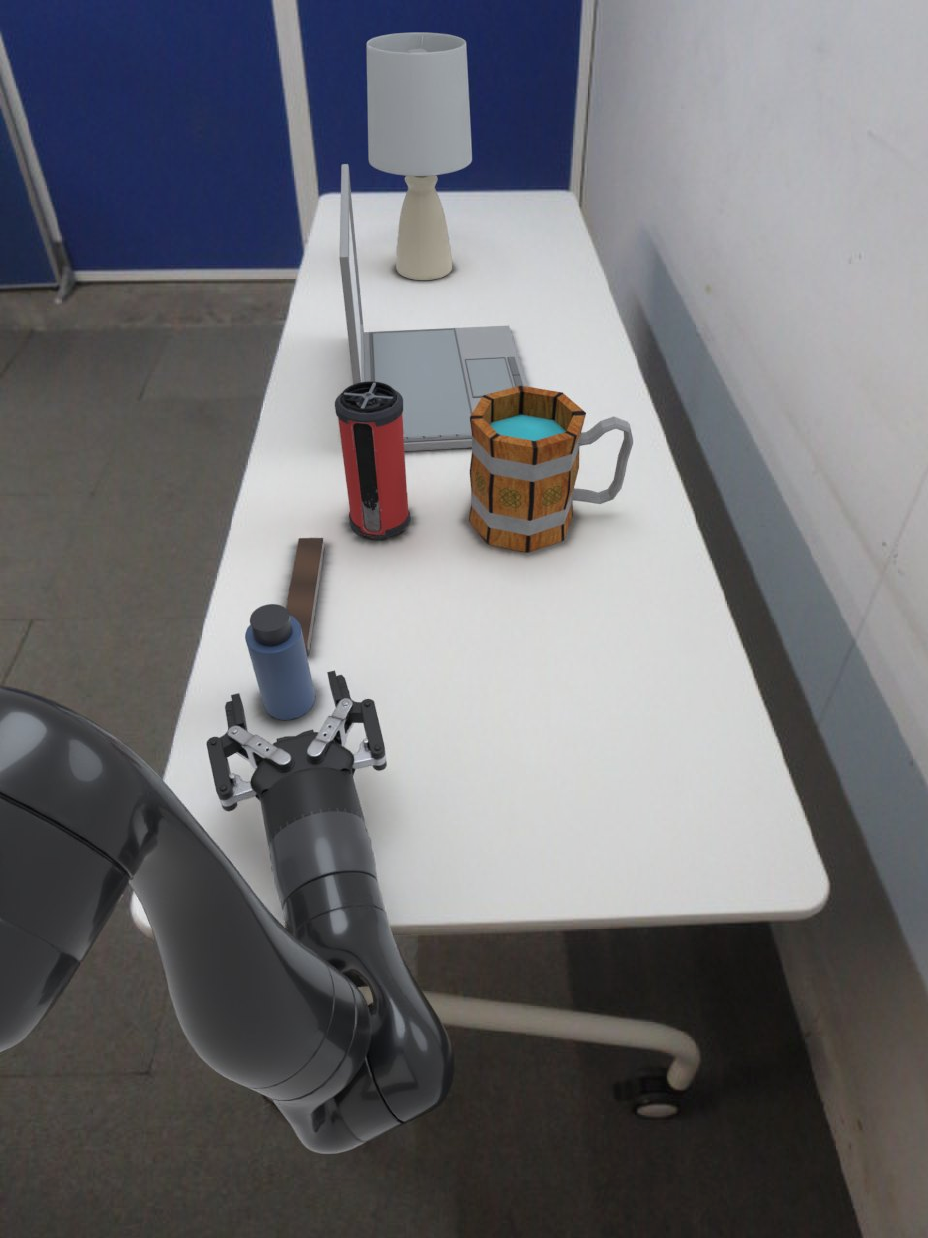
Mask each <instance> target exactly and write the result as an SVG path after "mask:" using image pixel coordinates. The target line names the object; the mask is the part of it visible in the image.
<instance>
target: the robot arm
mask: <svg viewBox="0 0 928 1238" xmlns="http://www.w3.org/2000/svg"><path fill="white" fill-rule="evenodd" d="M327 680H328V685H329V689H330V692H331V695H332V699H333V703H334V705H335V709H334V710H333V712H332V714H331V715H328V716H327V717H326V719H325V720H324V723H323V724H322V726H321V728H320V729H319V731H314V729H309V730H305V731H303V732H300V733H298V734H297V735H288V736H287V735H286V736H281V737H278V738H276V741H275V742H273V743H271V742H270V741H268V740H267V739H265V738H263V737H261V736H260V735H259V734H257V733H256V734H253V733H251V732H249V731H248V730H249V729H248V725H247V719H246V714H245V708H244V704H243V701H242V698H241V694H240V692H238V693H234V694H231V695H230V698H231V700H229V701H226V702H225V705H224V710H225V717H226V724H227V731H226V732H225V733H224V734H223V735H221V736H220V737H219V736H212V737H210V738H208V739H207V741H206V743H205V744H206V749H207V753H208V759H209V764H210V769H211V772H212V779H213V782H214V788H215V792H216V794H217V797H218V799H219V802H220V805H221V807H222V809H223V810H224V811H225V812H232V811H234V810H236V809H237V807H238V804H239V802H242V801H245V800H248V799H251V798H254V797H255V798H256V799H257V800H258V801H259V802H260V808H261V814H262V820H263V826H264V832H265V837H266V843H267V848H268V853H269V860H270V869H271V872H272V879H273V882H274V886H275V889H276V893H277V896H278V898H279V901H280V904H281V905H280V906H281V909H282V913H283V920H284V925H285V926H284V925H283V924H282V923H281V922H280V920H278V918H276V917H275V915H273V913H271V911H270V910H269V909H268V907H266V905H265V904H264V903H263V901H262V900H261V898H259V896H258V895H257V894H256V893H255V890H253V888H252V887H251V886H250V884H249V883H248V882H247V880H246V879H245V878H244V876H243V875H242V874H241V872H240V871H239V870H238V869H237V867H236V866H235V865H234V864H233V863H232V861H231V860H230V858H229V857H228V856H227V854H226V853H225V852H224V851H223V850H222V848H221V847H220V846H219V845H218V843H216V842H215V840H214V839H213V838H212V836H211V835H210V834H209V833H208V832H207V830H206V829H205V828H204V826H202V825H201V823H200V822H199V821H198V819H197V818H196V817H195V816H194V815H193V814H192V812H191V811H190V810H189V808H187V807H186V806H185V804H184V803H183V802H182V800H181V799H180V798H179V797H178V796H177V794H175V792H174V791H173V790H172V789H171V787H170V786H169V785H168V784H167V783H166V782H165V781H164V779H162V778H161V777H160V775H159V774H158V773H157V772H156V771H155V770H154V769H153V768H152V767H151V766H150V765H149V764H148V763H147V762H146V761H145V760H143V758H141V756H140V755H138V754H137V753H135V751H133V750H132V749H131V748H130V747H129V746H128V745H126V744H125V742H123V741H121V740H120V739H119V738H117V737H116V736H115V734H112V732H110V731H109V730H107V729H105V727H102V726H101V725H99V724H98V723H96V722H95V721H93V720H92V719H90V718H88V717H86V716H85V715H82V714H81V713H79V712H77V711H76V710H74V709H72V708H70V707H68V706H66V705H64V704H62V703H60V702H58V701H56V700H53V699H51V698H49V697H46V696H42V695H39V694H37V693H34V692H31V691H28V690H25V689H20V688H17V687H12V686H8V685H1V684H0V1053H2V1052H4V1051H6V1050H8V1049H11V1048H13V1047H15V1046H17V1045H19V1044H21V1043H23V1041H25V1040H26V1039H27V1038H28V1037H29V1036H31V1034H32V1033H33V1032H34V1031H35V1030H36V1029H37V1028H38V1026H40V1024H41V1023H42V1022H43V1020H45V1018H46V1017H47V1016H48V1015H49V1013H50V1012H51V1010H52V1009H53V1008H54V1007H55V1006H56V1004H57V1003H58V1001H59V999H60V998H61V997H62V995H63V994H64V992H65V990H66V989H67V987H68V986H69V984H70V982H71V981H72V979H73V978H74V976H75V975H76V973H77V971H78V969H79V967H80V966H81V963H83V962H84V960H85V959H86V958H87V956H88V954H89V953H90V951H91V949H92V947H93V946H94V944H95V943H96V941H97V939H98V938H99V936H100V934H101V932H102V931H103V929H104V928H105V926H106V924H107V923H108V921H109V920H110V918H111V917H112V914H114V911H115V910H116V908H117V906H118V904H119V903H120V902H121V899H122V898H123V897H124V895H125V893H126V892H127V890H128V888H129V887H130V889H132V892H134V894H135V895H136V897H137V899H138V901H139V902H140V905H141V907H142V909H143V912H144V914H145V916H146V919H147V921H148V924H149V926H150V929H151V931H152V935H153V938H154V941H155V945H156V949H157V951H158V954H159V959H160V963H161V967H162V971H163V975H164V978H165V982H166V985H167V989H168V993H169V996H170V1000H171V1004H172V1008H173V1011H174V1014H175V1018H176V1019H177V1022H178V1024H179V1026H180V1028H181V1030H182V1033H183V1034H184V1036H185V1038H186V1040H187V1042H188V1045H190V1047H191V1048H192V1049H193V1051H194V1052H195V1053H196V1055H197V1056H198V1057H199V1058H200V1059H201V1060H202V1061H203V1062H204V1063H205V1064H206V1065H207V1066H208V1067H209V1068H210V1069H212V1070H213V1071H214V1072H216V1073H218V1074H219V1075H220V1076H223V1077H224V1078H225V1079H226V1080H228V1081H230V1082H232V1083H235V1084H237V1085H239V1086H243V1087H244V1088H247V1089H249V1090H251V1091H253V1092H256V1093H258V1094H260V1095H262V1096H264V1097H267V1098H268V1099H271V1100H272V1102H273V1103H274V1105H275V1106H276V1107H277V1109H278V1110H279V1111H280V1113H281V1115H283V1117H284V1118H285V1119H286V1121H287V1122H288V1123H289V1125H290V1127H291V1129H292V1130H293V1132H294V1134H295V1135H296V1137H297V1138H298V1140H299V1142H301V1144H302V1145H303V1146H304V1147H305V1149H308V1150H309V1151H311V1152H314V1153H318V1154H322V1155H323V1154H324V1155H325V1154H326V1155H333V1154H341V1153H344V1152H347V1151H350V1150H351V1151H352V1150H353V1149H355V1148H357V1147H359V1146H361V1145H364V1144H366V1143H368V1142H370V1141H372V1140H374V1139H376V1138H378V1137H380V1136H382V1135H385V1134H387V1133H388V1132H391V1131H393V1130H395V1129H398V1128H399V1127H401V1126H403V1125H405V1124H408V1123H410V1122H412V1121H415V1120H417V1119H419V1118H420V1117H423V1116H425V1115H427V1114H429V1113H431V1112H433V1111H434V1110H436V1109H437V1108H438V1107H440V1106H442V1104H443V1103H444V1102H445V1101H446V1099H447V1097H448V1095H449V1094H450V1092H451V1089H452V1085H453V1082H454V1076H455V1053H454V1047H453V1043H452V1040H451V1038H450V1036H449V1034H448V1031H447V1029H446V1028H445V1026H444V1024H443V1022H442V1020H441V1018H440V1017H439V1015H438V1013H437V1012H436V1011H435V1009H434V1007H433V1006H432V1004H431V1003H430V1002H429V1000H428V998H427V997H426V995H425V993H424V992H423V990H422V989H421V987H420V986H419V984H418V982H417V981H416V979H415V977H414V975H413V973H412V972H411V969H410V968H409V965H408V964H407V962H406V961H405V959H404V957H403V954H402V952H401V950H400V948H399V946H398V944H397V942H396V940H395V936H394V935H393V932H392V928H391V925H390V922H389V919H388V915H387V911H386V907H385V903H384V900H383V896H382V892H381V888H380V885H379V880H378V876H377V868H376V867H377V865H376V859H375V854H374V850H373V846H372V839H371V837H370V835H369V834H370V833H369V831H368V827H367V823H366V820H365V816H364V812H363V809H362V805H361V802H360V797H359V794H358V791H357V790H358V789H357V787H356V783H355V779H354V775H355V772H356V770H359V769H363V768H368V767H372V768H373V770H375V771H378V772H381V771H384V770H385V769H386V768H387V765H388V763H387V755H386V754H387V753H386V746H385V742H384V738H383V734H382V728H381V725H380V720H379V716H378V712H377V707H376V703H375V701H374V700H373V699H371V698H365V699H363V700H361V701H360V702H359V701H355V700H353V699H352V697H351V694H350V691H349V687H348V684H347V683H348V682H347V680H346V677H344V675H343V674H338V675H337V673H336V670H331V671H327ZM354 724H363V727H364V728H363V729H364V733H365V737H366V738H363V739H362V741H361V742H360V743H359V746H358V747H359V748H358V751H357V752H355V753H353V752H352V751H351V750H349V749H348V748H346V747H345V745H346V743H347V738H348V736H349V734H350V732H351V730H352V728H353V726H354ZM235 754H236V755H238V756H239V757H241V758H243V759H244V760H245V761H247V762H248V763H249V764H250V765H251V766H252V767H253V768H254V769H255V770H254V772H253V773H252V775H251V778H250V781H245V780H243V779H242V777H241V776H240V775H239V774H235V773H233V772H232V771H231V768H230V763H229V759H228V758H229V757H232V756H233V755H235ZM364 987H365V988H366V987H368V988H369V990H370V993H371V997H372V1002H370V1003H369V1004H368V1001H367V999H366V998H365V995H364V994H363V992H362V991H361V990H360V989H359V988H364Z"/></svg>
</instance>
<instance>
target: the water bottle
mask: <svg viewBox="0 0 928 1238" xmlns="http://www.w3.org/2000/svg"><path fill="white" fill-rule="evenodd" d="M244 640H245V643H246V647H247V650H248V654H249V657H250V662H251V665H252V669H253V672H254V676H255V679H256V682H257V687H258V690H259V693H260V696H261V701H262V703H263V707H264V709H265V711H266V713H267V714H268V715H269V716H271V717H272V718H275V719H277V720H280V721H281V720H282V721H284V720H285V721H289V720H290V721H291V720H294V719H299V718H300V717H302V716H304V715H306V714H307V713H309V711H310V710H311V709H312V708H313V706H314V704H315V702H316V701H315V700H316V692H315V688H314V683H313V678H312V672H311V668H310V662H309V659H308V655H307V653H306V648H305V643H304V639H303V634H302V629H301V625H300V623H299V622H298V621H297V620H296V619H295V618H294V617H292V616H290V615H289V612H288V610H287V609H286V606H283V605H281V604H278V603H268V604H264V605H261V606H259V607H258V608H256V609H255V610H254V611H253V612H252V613H251V614H250V617H249V625H248V626H247V628H246V630H245V636H244Z"/></svg>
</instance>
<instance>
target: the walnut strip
mask: <svg viewBox="0 0 928 1238" xmlns="http://www.w3.org/2000/svg"><path fill="white" fill-rule="evenodd" d="M325 547H326V546H325V541H324V537H300V538H298V540H297V545H296V551H295V556H294V562H293V567H292V573H291V579H290V585H289V589H288V595H287V601H286V606H285V608H286V609H287V610H288V612H289V615H290V616H292V617H294V618H295V619H296V620H297V621H298V622H299V623H300V625H301V629H302V634H303V639H304V643H305V648H306V653H307V656H309V655H310V651H311V650H310V649H311V645H312V643H311V642H312V637H313V630H314V622H315V617H316V608H317V602H318V596H319V595H318V594H319V588H320V582H321V574H322V568H323V561H324V560H323V559H324V552H325Z"/></svg>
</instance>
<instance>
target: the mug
mask: <svg viewBox="0 0 928 1238" xmlns="http://www.w3.org/2000/svg"><path fill="white" fill-rule="evenodd" d="M586 415H587V412H586V411H585V410H583V408H581V407H580V406H579V405H578V404H577V403H575V402H574V401H573V400H572V399H571V398H569V396H568V395H566V394H565V393H564V392H562V391H557V390H550V389H545V388H538V387H532V386H528V387H527V386H517V387H513V388H510V389H506V390H502V391H498V392H494V393H490V394H487V395H483V396H482V398H481V400H480V401H479V403H478V405H477V406H476V408H475V410H474V411H473V413H472V414H471V416H470V424H471V431H472V447H471V457H470V464H469V480H470V481H469V483H470V509H469V516H468V522H469V524H470V525H471V526H472V527H473V528H474V530H475V531H476V532H477V533H478V535H480V537H481V538H482V539H483V540H484V542H485V543H486V544H487V545H489V546H494V547H499V548H504V549H509V550H514V551H518V552H523V553H531V552H534V551H537V550H540V549H544V548H547V547H549V546H552V545H555V544H557V543H561V542H563V541H565V539H566V536H567V533H568V531H569V528H570V526H571V523H572V521H573V517H574V502H583V503H591V504H595V505H596V504H597V505H603V504H605V503H608V502H610V501H613V500H614V499H615V498H616V496H617V495H618V494H619V492H621V490H622V489H623V488H622V487H623V484H624V481H625V476H626V473H627V468H628V462H629V460H630V456H631V452H632V449H633V447H634V436H633V432H632V427H631V424H630V422H629V421H628V420H625V419H623V418H619V417H617V416H610V417H608V418H605V419H602V420H600V421H598V422H596V424H595V425H594V426H593V427H591V428H590V429H589V430H587V431H583V428H584V423H585V419H586ZM613 430H618V431H621V432H623V440H622V442H621V446H620V449H619V451H618V455H617V460H616V465H615V466H616V467H615V470H614V475H613V480H612V481H611V483H610V485H609V486H608V487H607V489H604V490H601V491H595V490H590V489H584V488H576V487H575V486H576V482H577V477H578V473H579V470H580V447H582V446H589V445H592V444H593V443H595V442H598V440H600V438H601V437H602V436H604V435H605V434H606V433H608V432H611V431H613Z"/></svg>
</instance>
